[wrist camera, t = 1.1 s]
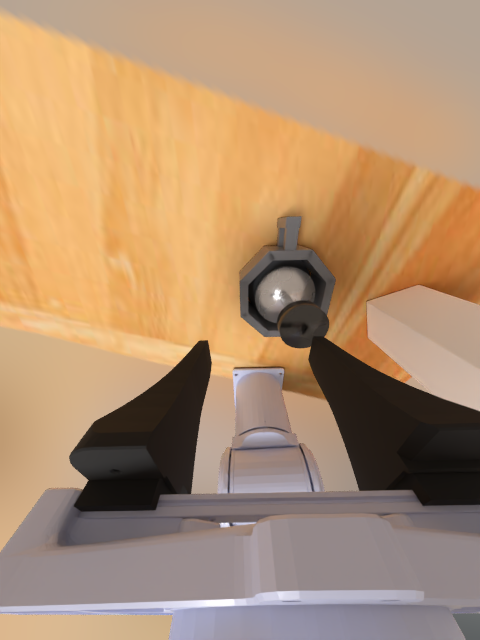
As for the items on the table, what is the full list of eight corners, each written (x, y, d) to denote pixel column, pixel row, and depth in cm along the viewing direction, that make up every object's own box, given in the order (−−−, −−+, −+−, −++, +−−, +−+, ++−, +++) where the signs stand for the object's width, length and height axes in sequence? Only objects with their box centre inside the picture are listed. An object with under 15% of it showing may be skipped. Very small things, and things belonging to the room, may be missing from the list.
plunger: (307, 320, 19) (336, 360, 13) (254, 321, 19) (260, 362, 14) (318, 265, 16) (360, 286, 11) (255, 266, 16) (263, 289, 11)
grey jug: (309, 318, 23) (321, 335, 19) (240, 320, 23) (241, 337, 19) (328, 216, 17) (352, 214, 13) (238, 219, 17) (237, 218, 14)
